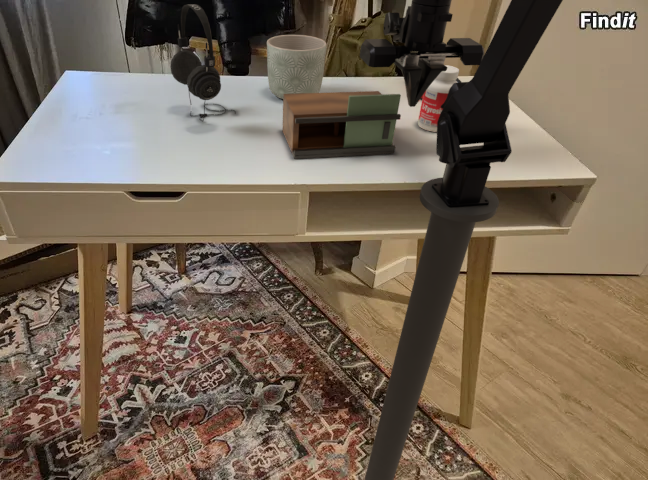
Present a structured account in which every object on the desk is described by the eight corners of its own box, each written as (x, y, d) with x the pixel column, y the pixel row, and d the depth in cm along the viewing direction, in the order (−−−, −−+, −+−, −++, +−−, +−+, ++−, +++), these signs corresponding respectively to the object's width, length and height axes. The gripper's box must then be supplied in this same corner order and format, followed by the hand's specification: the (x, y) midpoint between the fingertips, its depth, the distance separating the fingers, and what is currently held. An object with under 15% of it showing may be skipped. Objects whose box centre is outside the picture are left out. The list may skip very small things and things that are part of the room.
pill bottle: (412, 128, 97) (424, 69, 90) (423, 118, 102) (434, 61, 95) (443, 135, 95) (458, 75, 88) (453, 125, 99) (467, 67, 92)
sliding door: (392, 146, 88) (401, 95, 82) (344, 149, 87) (350, 97, 81) (390, 144, 89) (399, 93, 83) (343, 146, 87) (348, 95, 82)
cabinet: (394, 154, 88) (401, 115, 84) (294, 159, 85) (296, 119, 81) (373, 127, 97) (378, 90, 93) (282, 130, 94) (283, 93, 90)
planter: (280, 108, 103) (281, 52, 97) (257, 89, 112) (257, 36, 105) (332, 101, 108) (337, 47, 101) (307, 83, 116) (310, 32, 110)
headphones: (253, 126, 96) (252, 10, 83) (198, 136, 91) (188, 16, 79) (221, 100, 106) (216, -6, 93) (170, 108, 101) (157, -2, 89)
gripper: (465, -8, 82) (443, 88, 92) (356, -8, 79) (345, 91, 89) (498, 6, 74) (471, 110, 83) (377, 7, 71) (363, 114, 81)
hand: (411, 105), depth 84 cm, fingers closed
